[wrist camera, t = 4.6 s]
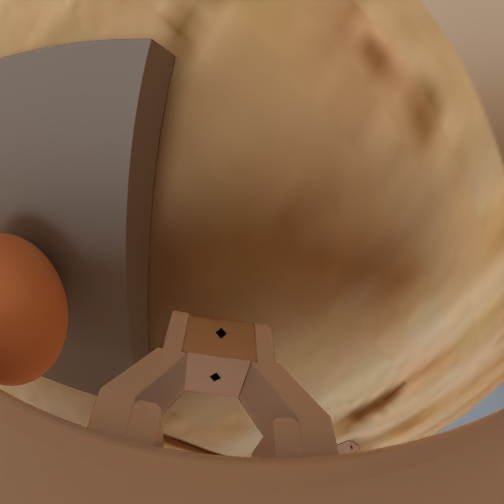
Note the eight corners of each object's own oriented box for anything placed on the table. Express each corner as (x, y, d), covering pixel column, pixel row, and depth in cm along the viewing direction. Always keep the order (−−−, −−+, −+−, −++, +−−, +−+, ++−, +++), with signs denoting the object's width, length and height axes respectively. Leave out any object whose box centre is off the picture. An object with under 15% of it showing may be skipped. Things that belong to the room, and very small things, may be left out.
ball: (97, 332, 10) (54, 435, 6) (10, 304, 9) (-42, 380, 5) (84, 219, 8) (-14, 322, 3) (-12, 203, 7) (-99, 269, 3)
